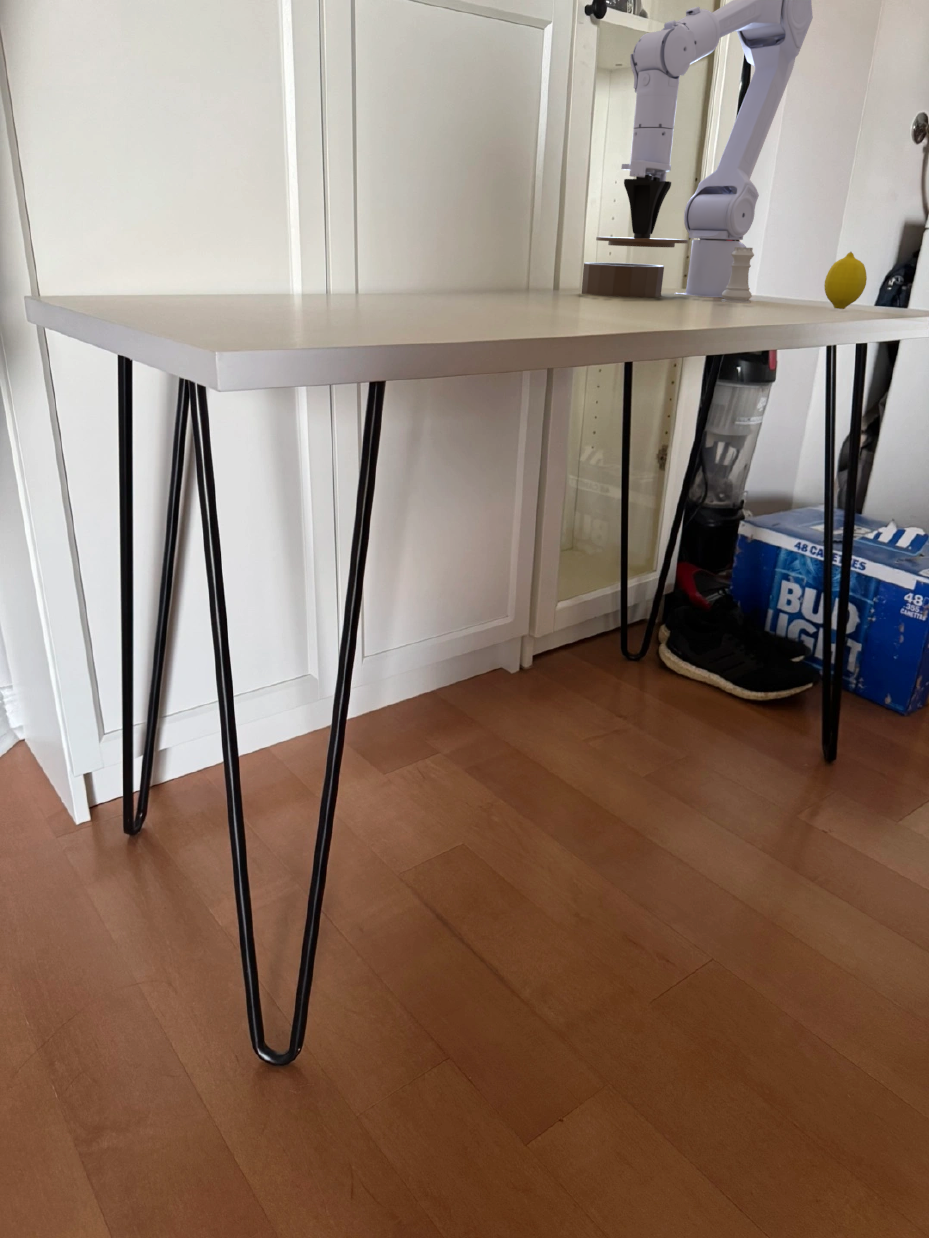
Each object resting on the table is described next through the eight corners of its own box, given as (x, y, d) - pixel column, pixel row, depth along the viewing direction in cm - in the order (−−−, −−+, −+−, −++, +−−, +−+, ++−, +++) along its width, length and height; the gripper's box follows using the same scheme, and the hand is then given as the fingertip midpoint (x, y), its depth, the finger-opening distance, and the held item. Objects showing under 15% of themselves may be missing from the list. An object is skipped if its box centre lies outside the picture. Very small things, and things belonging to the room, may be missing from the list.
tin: (620, 294, 148) (623, 262, 146) (676, 300, 139) (680, 266, 137) (565, 295, 142) (567, 262, 140) (620, 301, 132) (623, 266, 131)
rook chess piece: (743, 304, 134) (752, 247, 131) (755, 307, 130) (764, 248, 127) (715, 304, 133) (723, 246, 130) (726, 306, 129) (735, 247, 126)
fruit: (867, 311, 129) (879, 252, 126) (848, 312, 125) (860, 252, 122) (831, 308, 133) (842, 251, 129) (812, 309, 129) (823, 250, 126)
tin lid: (639, 245, 141) (643, 206, 138) (706, 248, 131) (711, 207, 128) (577, 244, 133) (580, 203, 131) (643, 247, 123) (647, 203, 121)
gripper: (637, 135, 133) (628, 233, 139) (612, 124, 121) (603, 232, 127) (684, 135, 131) (673, 234, 136) (663, 124, 119) (652, 234, 124)
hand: (642, 234), depth 131 cm, fingers closed on tin lid, 2 cm apart
